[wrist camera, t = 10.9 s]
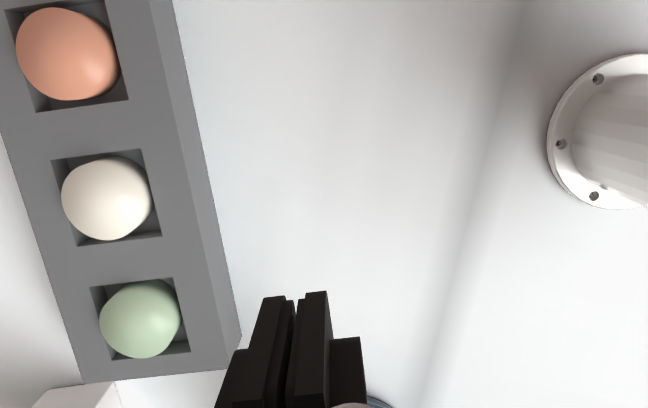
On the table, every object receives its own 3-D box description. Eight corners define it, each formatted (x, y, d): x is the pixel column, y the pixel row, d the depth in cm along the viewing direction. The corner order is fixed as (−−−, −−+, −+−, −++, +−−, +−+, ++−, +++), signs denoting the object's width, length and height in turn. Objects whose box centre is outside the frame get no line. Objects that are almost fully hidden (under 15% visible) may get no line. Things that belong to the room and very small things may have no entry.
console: (165, -28, 34) (138, -46, 29) (241, 335, 43) (230, 368, 38) (4, -3, 35) (-49, -17, 30) (111, 350, 43) (84, 384, 38)
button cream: (145, 151, 34) (130, 157, 32) (163, 224, 36) (150, 235, 34) (71, 161, 35) (50, 168, 32) (92, 232, 36) (74, 244, 34)
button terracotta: (110, 7, 32) (90, 1, 29) (131, 92, 33) (114, 94, 31) (30, 19, 32) (3, 14, 29) (54, 103, 34) (31, 105, 31)
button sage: (175, 274, 37) (163, 288, 35) (190, 335, 39) (180, 354, 36) (106, 282, 38) (90, 297, 35) (124, 343, 39) (110, 361, 37)
